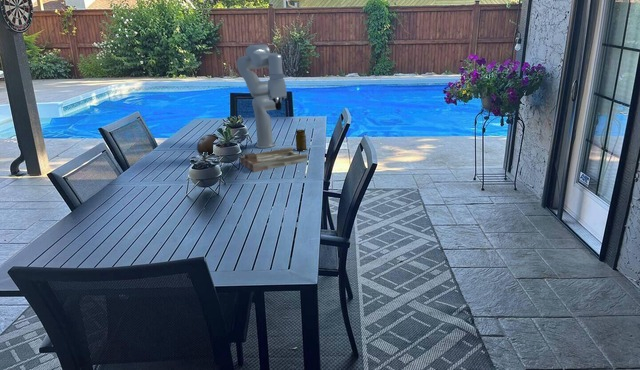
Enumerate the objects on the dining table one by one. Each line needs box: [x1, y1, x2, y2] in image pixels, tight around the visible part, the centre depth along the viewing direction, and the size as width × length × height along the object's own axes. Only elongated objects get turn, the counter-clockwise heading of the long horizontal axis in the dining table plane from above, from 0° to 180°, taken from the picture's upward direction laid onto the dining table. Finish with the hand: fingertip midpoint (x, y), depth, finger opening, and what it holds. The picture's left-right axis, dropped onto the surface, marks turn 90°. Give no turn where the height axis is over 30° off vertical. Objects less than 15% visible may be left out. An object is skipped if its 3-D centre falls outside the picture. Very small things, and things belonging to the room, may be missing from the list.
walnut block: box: [244, 152, 257, 162], centre depth 266 cm, size 5×5×4 cm
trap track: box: [239, 146, 308, 173], centre depth 269 cm, size 20×32×4 cm, turn 119°
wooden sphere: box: [196, 134, 220, 156], centre depth 279 cm, size 15×15×15 cm
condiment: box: [293, 129, 307, 153], centre depth 291 cm, size 7×8×12 cm
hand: (278, 109), depth 276 cm, fingers closed
